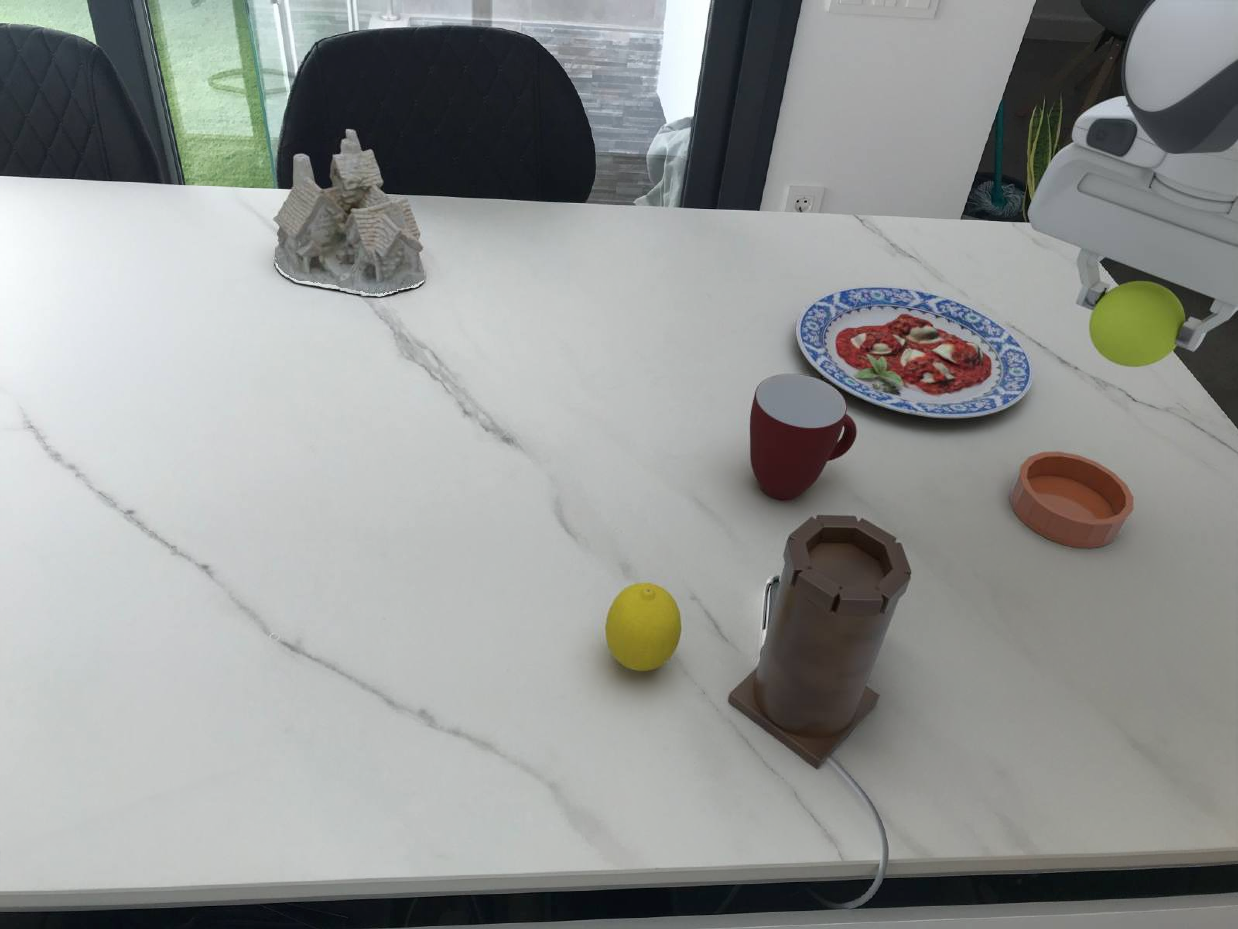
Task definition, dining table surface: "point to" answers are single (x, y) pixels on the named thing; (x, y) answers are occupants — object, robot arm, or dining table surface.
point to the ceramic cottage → (348, 227)
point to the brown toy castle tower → (825, 634)
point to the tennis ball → (1136, 323)
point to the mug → (796, 432)
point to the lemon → (643, 626)
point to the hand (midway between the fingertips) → (1135, 324)
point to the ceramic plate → (914, 352)
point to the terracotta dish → (1071, 499)
